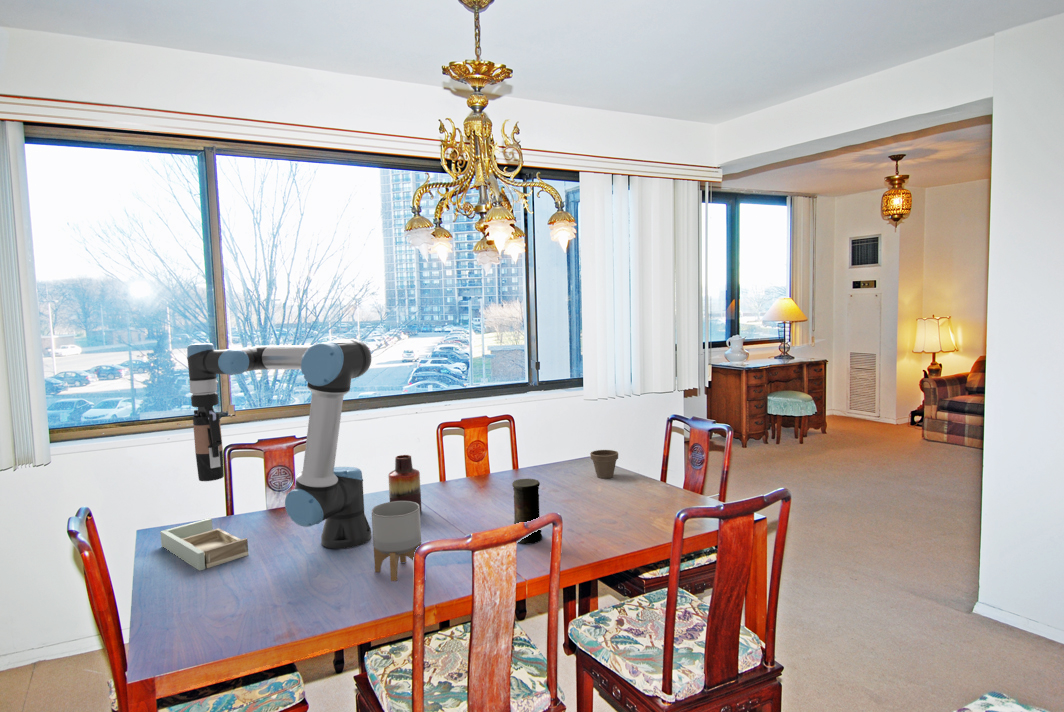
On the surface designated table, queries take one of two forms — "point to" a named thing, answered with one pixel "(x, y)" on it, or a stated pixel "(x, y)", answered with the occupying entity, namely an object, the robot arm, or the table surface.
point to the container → (527, 505)
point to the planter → (395, 533)
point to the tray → (218, 546)
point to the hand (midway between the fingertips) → (210, 465)
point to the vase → (404, 481)
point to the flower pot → (604, 462)
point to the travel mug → (205, 451)
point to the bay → (181, 548)
